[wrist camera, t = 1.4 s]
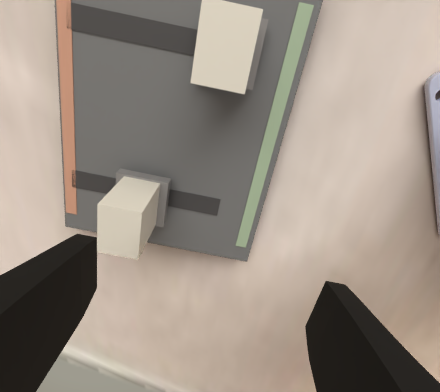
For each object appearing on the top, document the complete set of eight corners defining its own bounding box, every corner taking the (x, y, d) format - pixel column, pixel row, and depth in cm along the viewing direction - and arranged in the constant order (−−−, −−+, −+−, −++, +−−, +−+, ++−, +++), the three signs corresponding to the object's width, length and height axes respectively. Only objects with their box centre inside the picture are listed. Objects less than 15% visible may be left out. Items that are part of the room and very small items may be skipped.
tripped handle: (171, 178, 15) (152, 212, 12) (165, 221, 16) (146, 263, 13) (120, 168, 15) (87, 200, 12) (118, 212, 16) (88, 252, 13)
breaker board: (320, -15, 13) (330, -24, 11) (246, 246, 19) (246, 262, 17) (71, -70, 12) (49, -86, 11) (78, 213, 18) (64, 226, 17)
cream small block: (267, 21, 12) (277, 8, 9) (251, 88, 13) (255, 100, 10) (203, 7, 12) (189, -12, 8) (193, 76, 13) (177, 83, 10)
